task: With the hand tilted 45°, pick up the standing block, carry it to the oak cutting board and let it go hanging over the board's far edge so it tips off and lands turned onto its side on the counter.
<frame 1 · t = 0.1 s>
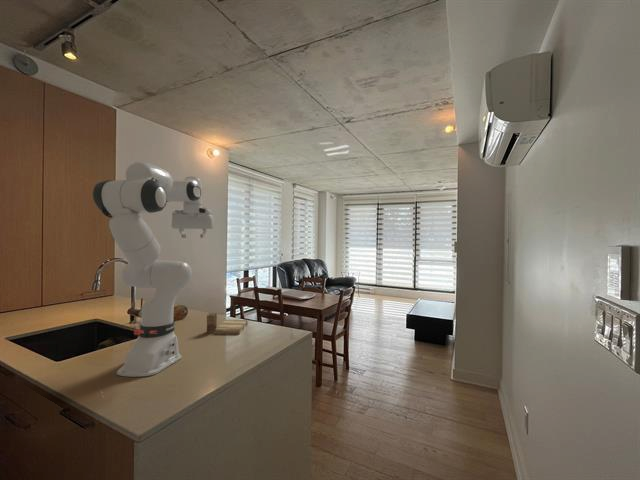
hand: (193, 237, 145), 48 cm above the worktop, tool pointing down, fingers open, 8 cm apart
board: (232, 328, 153), on the worktop
brown flat oval piece: (174, 320, 167), on the worktop
block: (211, 331, 148), on the worktop
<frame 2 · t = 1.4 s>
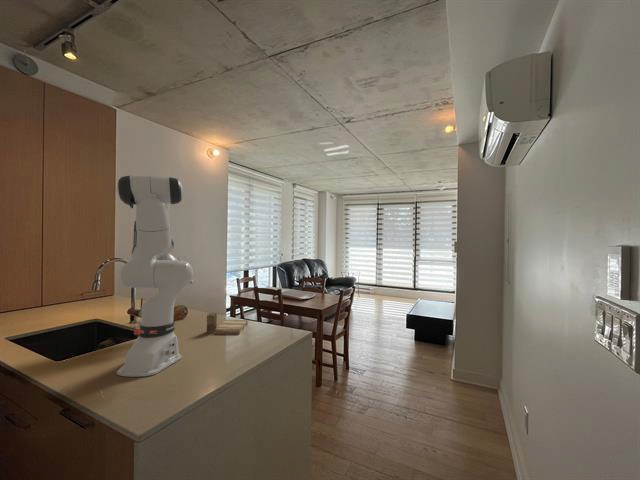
hand: (187, 284, 148), 24 cm above the worktop, tool tilted 45°, fingers open, 8 cm apart
nothing on the worktop moved.
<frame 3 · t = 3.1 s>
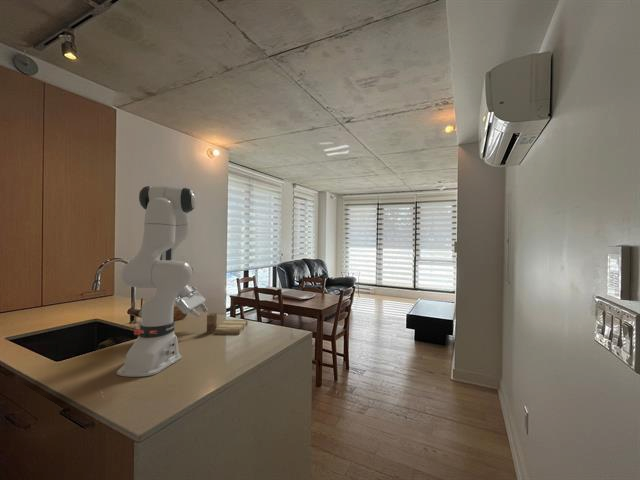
hand: (202, 313, 148), 9 cm above the worktop, tool tilted 45°, fingers open, 8 cm apart
nothing on the worktop moved.
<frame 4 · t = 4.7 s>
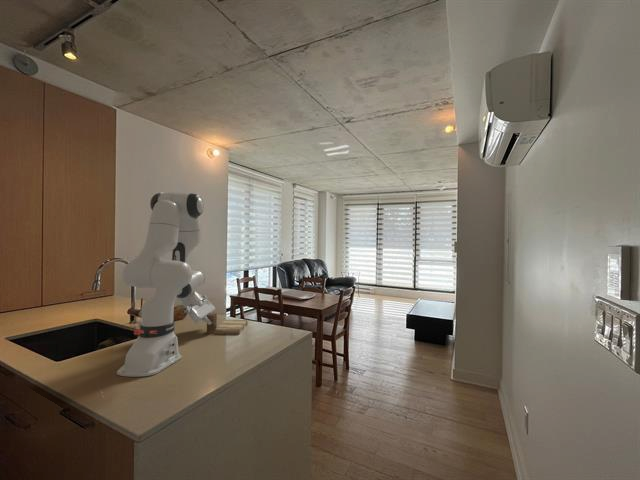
hand: (213, 322, 148), 5 cm above the worktop, tool tilted 45°, fingers closed on block, 4 cm apart
block: (211, 331, 148), on the worktop, touching gripper
everything else where it was.
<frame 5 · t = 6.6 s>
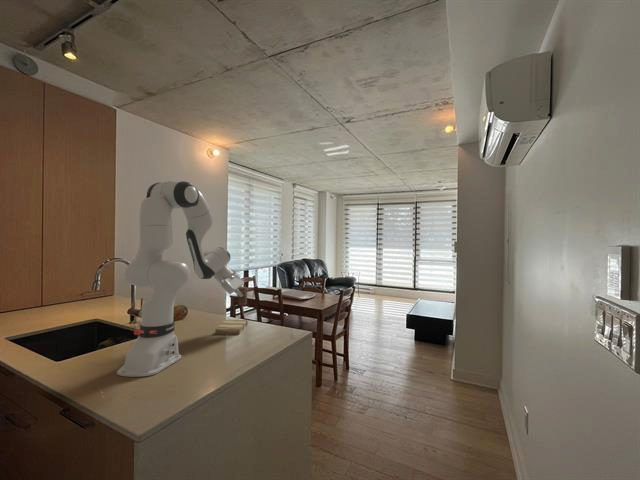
hand: (244, 295, 153), 18 cm above the worktop, tool tilted 45°, fingers closed on block, 4 cm apart
block: (242, 304, 153), point 13 cm above the worktop, touching gripper
everything else where it was.
when the fingers open (8 cm above the worktop, at t = 8.8 s): block drops 2 cm and tips over, point 2 cm above the worktop.
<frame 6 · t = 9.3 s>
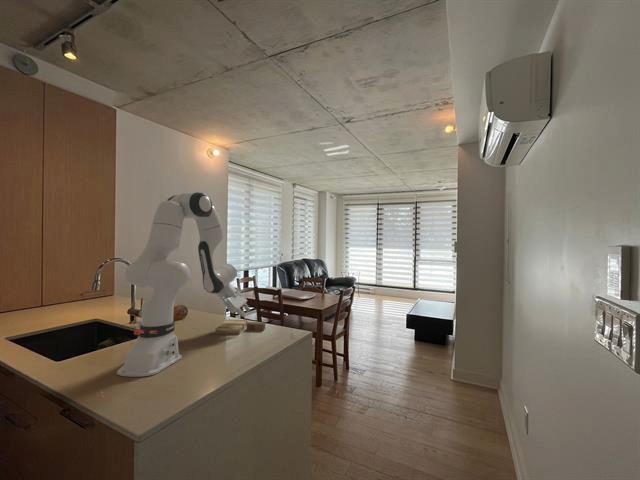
hand: (246, 313, 153), 8 cm above the worktop, tool tilted 45°, fingers open, 8 cm apart
block: (247, 326, 153), point 2 cm above the worktop, tilted 90°
everything else where it was.
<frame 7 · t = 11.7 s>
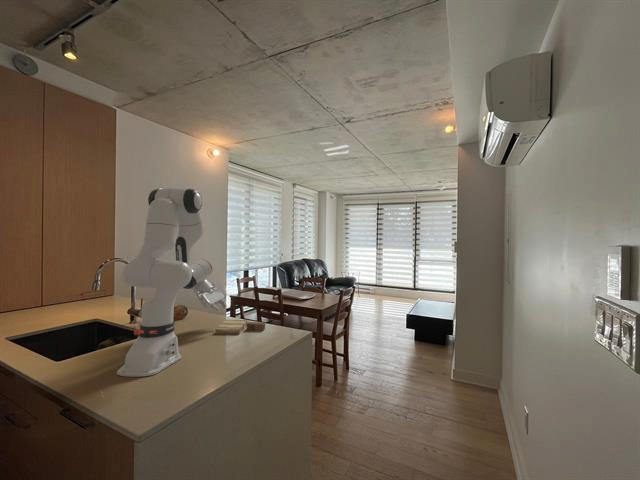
hand: (222, 309, 153), 10 cm above the worktop, tool tilted 45°, fingers open, 8 cm apart
nothing on the worktop moved.
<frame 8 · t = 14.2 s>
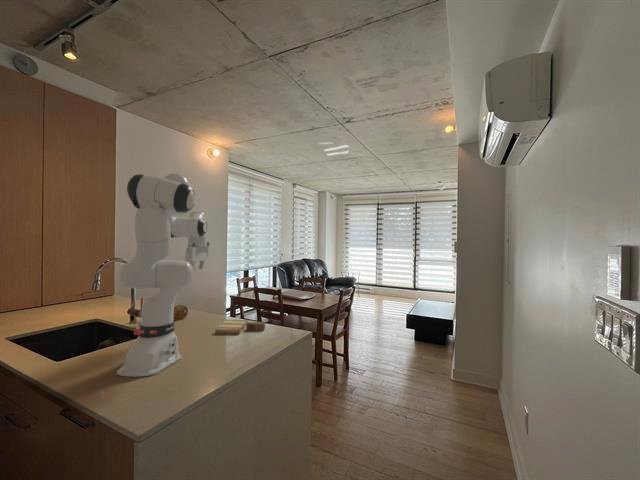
hand: (197, 270, 151), 31 cm above the worktop, tool pointing down, fingers open, 8 cm apart
nothing on the worktop moved.
at the end: block tilted 90°; block inside the target area (4.1 cm from its centre), point 1.5 cm above the worktop; the gripper is holding nothing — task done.
